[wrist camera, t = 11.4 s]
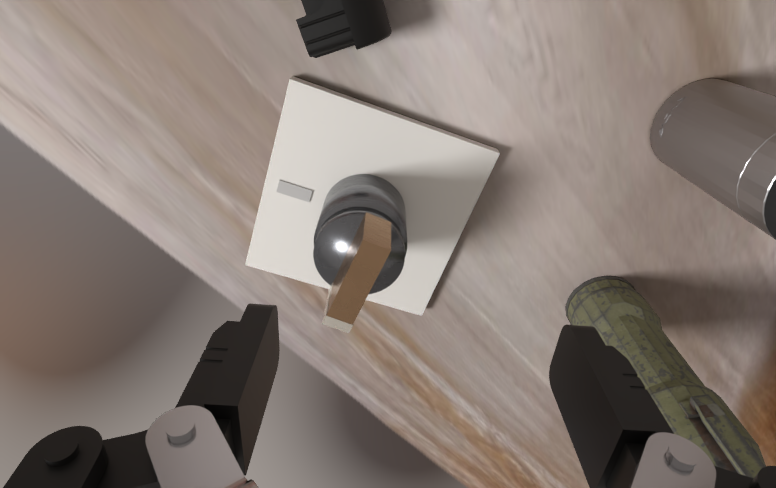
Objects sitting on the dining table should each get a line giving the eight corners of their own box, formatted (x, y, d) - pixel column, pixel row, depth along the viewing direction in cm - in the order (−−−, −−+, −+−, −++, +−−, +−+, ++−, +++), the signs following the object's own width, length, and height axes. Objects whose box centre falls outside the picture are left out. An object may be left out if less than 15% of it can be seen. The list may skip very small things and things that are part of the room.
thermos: (567, 346, 63) (733, 694, 32) (561, 273, 57) (754, 610, 27) (637, 334, 62) (876, 682, 31) (637, 258, 56) (928, 591, 26)
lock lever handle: (336, 190, 43) (326, 225, 36) (420, 224, 44) (425, 264, 38) (302, 268, 47) (289, 312, 40) (381, 297, 48) (379, 344, 42)
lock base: (497, 148, 50) (516, 179, 42) (421, 308, 60) (425, 356, 52) (292, 76, 46) (273, 95, 39) (248, 258, 57) (226, 301, 49)
